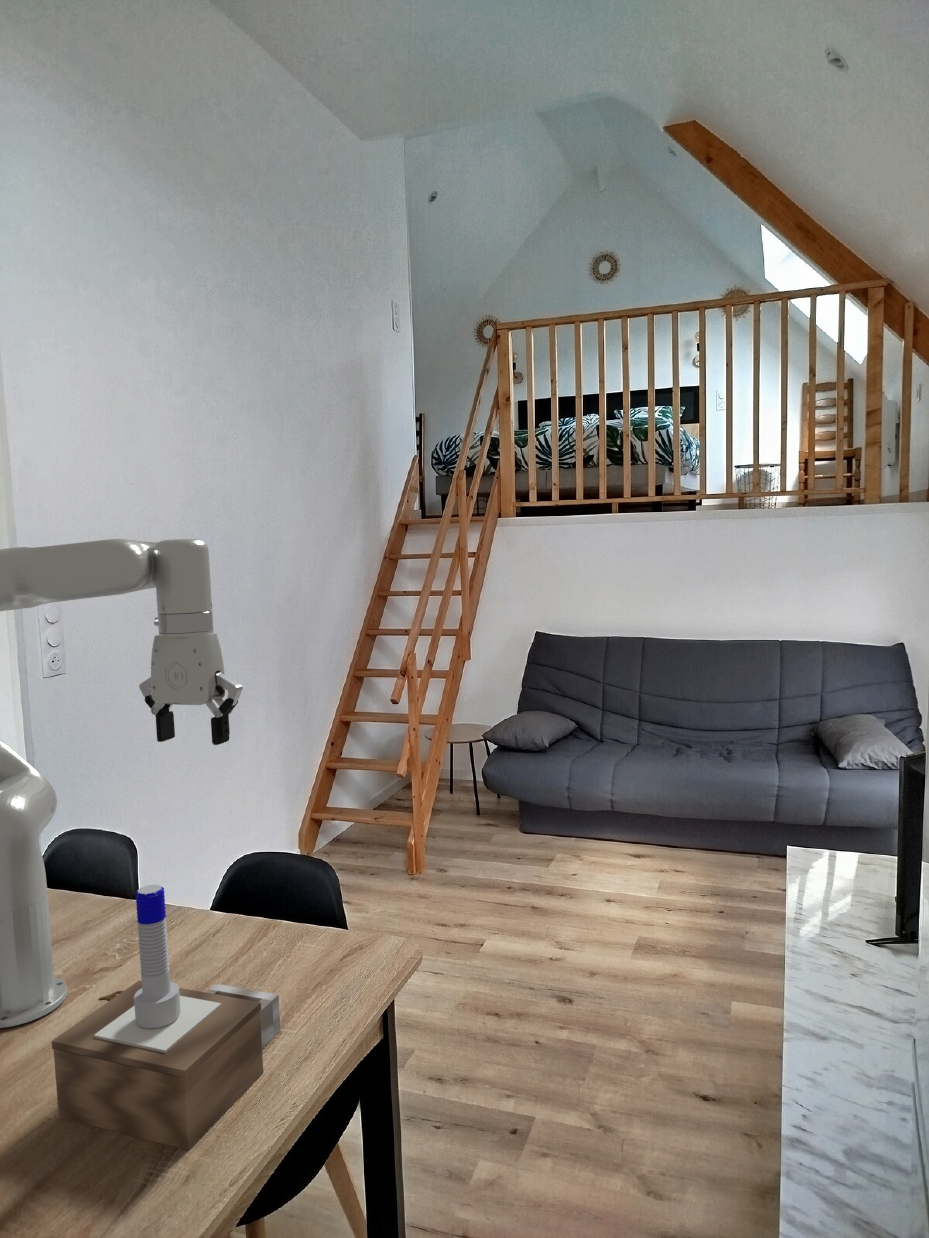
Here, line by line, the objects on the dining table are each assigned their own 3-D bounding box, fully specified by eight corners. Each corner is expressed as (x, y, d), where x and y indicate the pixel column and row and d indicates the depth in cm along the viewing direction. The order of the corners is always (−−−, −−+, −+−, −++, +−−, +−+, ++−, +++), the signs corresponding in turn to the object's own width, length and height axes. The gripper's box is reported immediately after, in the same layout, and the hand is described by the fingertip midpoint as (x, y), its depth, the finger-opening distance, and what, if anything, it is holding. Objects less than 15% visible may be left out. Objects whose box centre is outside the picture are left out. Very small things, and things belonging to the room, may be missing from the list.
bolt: (187, 1005, 101) (171, 1029, 96) (145, 1006, 101) (128, 1030, 96) (178, 879, 100) (163, 897, 95) (137, 881, 100) (119, 898, 95)
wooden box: (57, 1116, 96) (51, 1040, 95) (186, 1012, 117) (182, 950, 116) (190, 1150, 90) (185, 1070, 89) (301, 1034, 111) (297, 968, 110)
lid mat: (93, 1037, 96) (93, 1034, 96) (154, 993, 105) (154, 990, 105) (165, 1052, 92) (165, 1050, 92) (221, 1005, 102) (221, 1003, 102)
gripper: (119, 627, 121) (127, 744, 122) (220, 627, 115) (227, 750, 116) (155, 622, 128) (162, 733, 129) (251, 622, 122) (258, 738, 123)
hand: (193, 741), depth 123 cm, fingers open, 9 cm apart
